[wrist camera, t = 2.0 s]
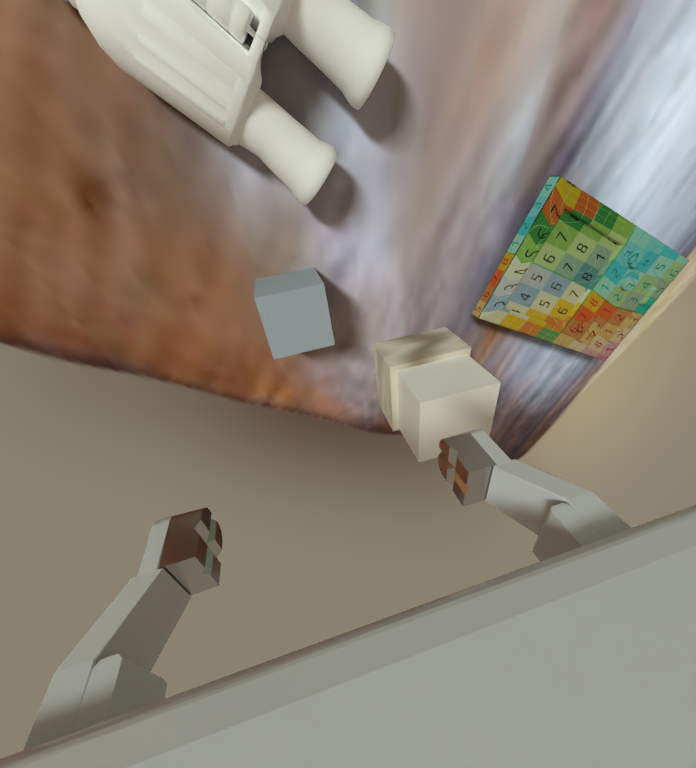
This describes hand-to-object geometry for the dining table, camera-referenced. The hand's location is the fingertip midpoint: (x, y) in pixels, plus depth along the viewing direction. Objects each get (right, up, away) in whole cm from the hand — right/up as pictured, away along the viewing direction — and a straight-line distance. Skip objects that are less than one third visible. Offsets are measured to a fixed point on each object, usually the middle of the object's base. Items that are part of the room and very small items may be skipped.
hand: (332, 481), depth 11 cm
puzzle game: (+23, +15, +22) cm, 35 cm away
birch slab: (+7, +5, +24) cm, 26 cm away
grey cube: (-4, +11, +17) cm, 20 cm away
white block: (+9, +3, +20) cm, 22 cm away
